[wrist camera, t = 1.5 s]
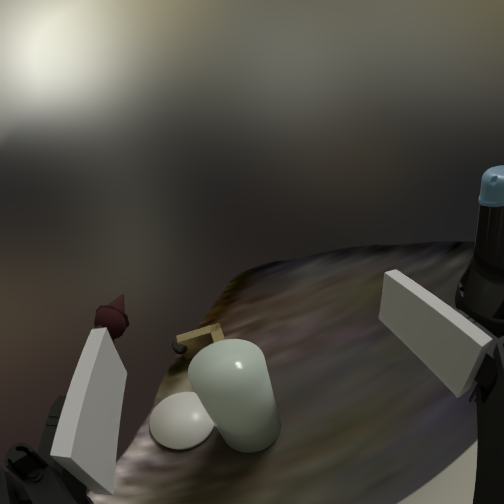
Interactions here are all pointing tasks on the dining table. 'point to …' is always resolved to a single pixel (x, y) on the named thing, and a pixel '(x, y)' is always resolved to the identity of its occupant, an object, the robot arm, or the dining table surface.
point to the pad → (181, 421)
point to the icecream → (112, 318)
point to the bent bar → (197, 340)
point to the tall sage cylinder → (236, 393)
